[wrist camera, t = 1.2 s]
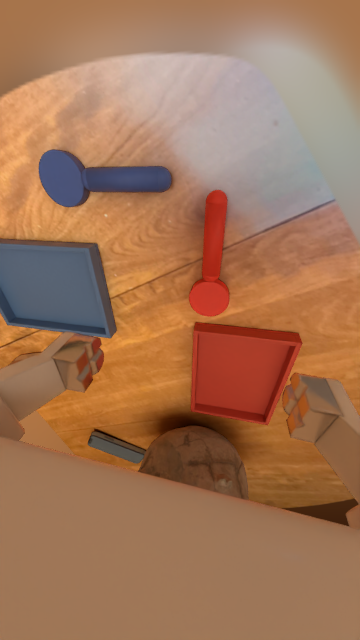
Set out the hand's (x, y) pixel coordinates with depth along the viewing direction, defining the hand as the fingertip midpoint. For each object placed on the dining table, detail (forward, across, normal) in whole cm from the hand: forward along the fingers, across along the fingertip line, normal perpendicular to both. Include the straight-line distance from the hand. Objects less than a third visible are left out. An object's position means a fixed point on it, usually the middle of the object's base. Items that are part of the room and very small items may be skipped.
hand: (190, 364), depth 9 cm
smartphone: (+18, +18, +54) cm, 59 cm away
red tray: (+18, -6, +19) cm, 26 cm away
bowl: (+18, -2, +40) cm, 43 cm away
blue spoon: (+18, +12, -6) cm, 22 cm away
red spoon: (+18, 0, +1) cm, 18 cm away
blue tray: (+18, +23, +8) cm, 30 cm away
